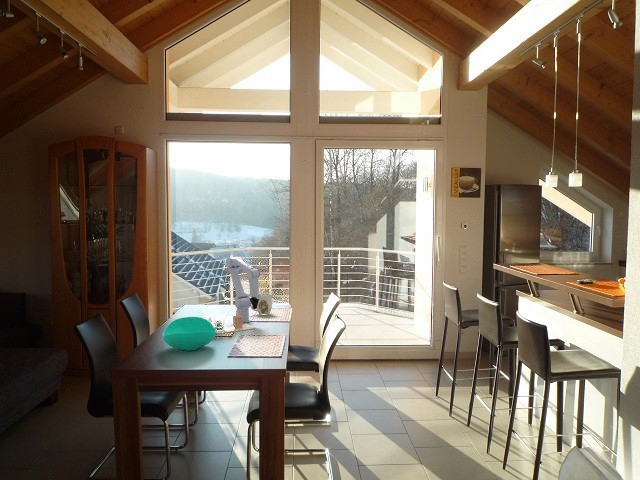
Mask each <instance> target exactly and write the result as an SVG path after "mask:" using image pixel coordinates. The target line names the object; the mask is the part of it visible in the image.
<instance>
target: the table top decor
mask: <svg viewBox="0 0 640 480" xmlns="http://www.w3.org/2000/svg"><path fill="white" fill-rule="evenodd" d="M216 335H217V330H216V328H215V327H214V325H213V324H212V322H210V321H209V320H208V319H206V318H203V317H200V316H187V317H186V316H185V317H179V318H177V319H174V320H173V321H171V322H170V323H169V324H168V325H167V326H166V327H165V330H164V331H163V333H162V338H163V341H164V343H166V344H167V345H168V346H169V347H171V348H175V349H177V350H180V351H186V352H191V351H196V350H198V349H200V348H203V347H205V346H207V345H208V344H210V343H211V342H212V341H213V340H214V339H215V337H216Z"/></svg>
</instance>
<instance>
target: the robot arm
mask: <svg viewBox="0 0 640 480" xmlns="http://www.w3.org/2000/svg"><path fill="white" fill-rule="evenodd" d="M225 265H226V268H227V271H228V272H229V275H230V278H231V281H232V285H233V288H234V290H235V294H236V295H235V297H234V306H235V308H236V310H235V316H239V315H240V316H242V324H244V323H249V322H250V323H251V322H252V320H251V319H250V313H249V311H250V309H251V307H250V306H251V304H252V307H253V309H257V305H258V302H259V300H260V295H262V294H261V293H260V290H259V278H260V276H261V272H260V270H259V268H254V267H253V266H252V265H251V264H250V263H246V262H244V260H243V257H241V256H233V257H232V256H231V257H226V261H225ZM241 268H242V271H243V272H244V273H245V274H246V275H247V278H248V282H249V283H248V284H249V293H246V292H245V291H244V286H243V284H242V281H241V278H240V275H239V271H240V270H241ZM249 308H250V309H249Z"/></svg>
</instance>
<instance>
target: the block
mask: <svg viewBox="0 0 640 480" xmlns="http://www.w3.org/2000/svg"><path fill="white" fill-rule="evenodd" d="M232 324H233V325H232V326H234V327H235V329H238V328H243V325H242V324H243V323H242V316H240V315H239V316H236V315H234V316H232Z"/></svg>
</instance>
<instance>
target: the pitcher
mask: <svg viewBox="0 0 640 480" xmlns="http://www.w3.org/2000/svg"><path fill="white" fill-rule="evenodd" d="M275 296H276V294H261V295H260V300H259V302H258V305H257V309H253V307H252V304H251V306H250V309H251V310H252V311H253V312H257V313H258V314H259V315H260V314H269V315H270V314H271V311H272V307H273V301H272V300H273V298H274V297H275Z"/></svg>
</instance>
